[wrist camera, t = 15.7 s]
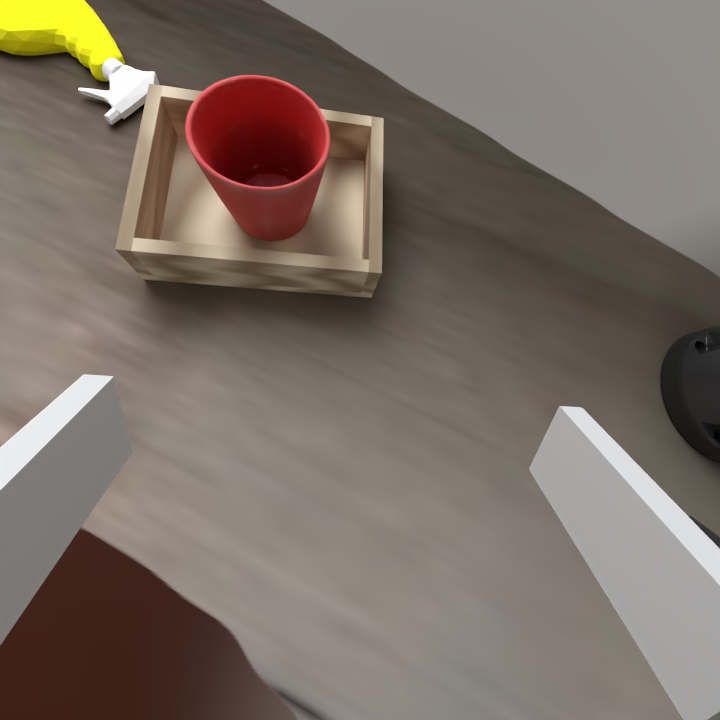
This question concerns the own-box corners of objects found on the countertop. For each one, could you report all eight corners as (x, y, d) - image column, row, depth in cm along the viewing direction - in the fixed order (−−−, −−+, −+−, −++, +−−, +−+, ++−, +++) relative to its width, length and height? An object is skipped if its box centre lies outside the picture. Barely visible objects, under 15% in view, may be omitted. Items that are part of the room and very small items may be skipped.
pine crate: (373, 160, 42) (383, 118, 36) (371, 297, 37) (381, 273, 32) (170, 133, 39) (149, 83, 33) (144, 279, 35) (115, 249, 29)
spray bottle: (19, -43, 42) (184, 86, 41) (-69, 3, 39) (108, 143, 38) (-2, -79, 39) (175, 60, 38) (-99, -32, 36) (93, 119, 35)
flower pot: (287, 276, 36) (281, 215, 26) (193, 217, 36) (153, 136, 26) (343, 201, 39) (355, 122, 29) (256, 147, 39) (240, 51, 29)
